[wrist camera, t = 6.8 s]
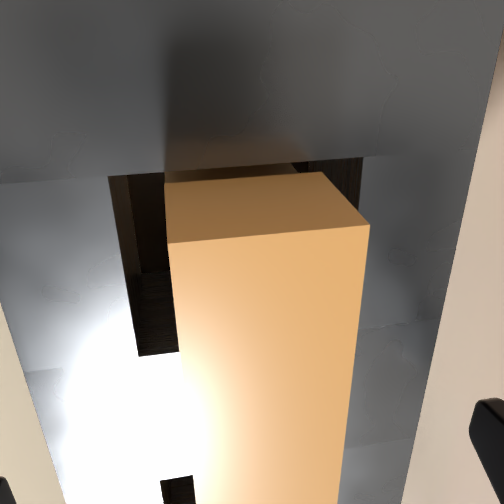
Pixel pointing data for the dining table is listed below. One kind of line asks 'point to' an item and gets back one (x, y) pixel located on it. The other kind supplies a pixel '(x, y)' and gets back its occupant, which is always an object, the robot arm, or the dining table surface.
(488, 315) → the dining table surface
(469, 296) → the dining table surface
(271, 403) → the long orange beam
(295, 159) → the grey slotted plate
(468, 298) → the dining table surface
